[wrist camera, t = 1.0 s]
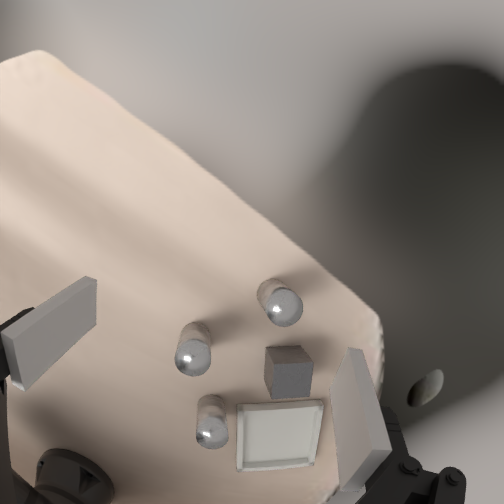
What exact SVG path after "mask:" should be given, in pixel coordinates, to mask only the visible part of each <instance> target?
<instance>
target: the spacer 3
mask: <svg viewBox="0 0 504 504" xmlns="http://www.w3.org/2000/svg"><path fill="white" fill-rule="evenodd" d="M257 299H258V301H259V303H260V304H261V306H262V308H263V309H264V311H265V312H266V314H267V315H268V317H269V319H270V320H271V321H272V322H273V323H274V324H275V325H278V326H281V327H287V326H291V325H293V324H294V323H296V322H297V321H298V320H299V319H300V317H301V315H302V312H303V303H302V300H301V299H300V297H299V296H298V295H297V294H295V293H294V292H293V291H292V290H291V289H289V288H288V287H287V286H286V285H284V284H283V283H282V282H281V281H279V280H276V279H269V280H266V281H264V282H263V283H262V284H261V285H260V286H259V288H258V290H257Z"/></svg>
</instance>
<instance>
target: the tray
mask: <svg viewBox="0 0 504 504" xmlns="http://www.w3.org/2000/svg"><path fill="white" fill-rule="evenodd" d="M323 408H324V405H323V403H322V402H321V400H320V399H316V400H306V401H294V402H279V403H260V404H237V424H236V469H237V472H250V471H266V470H278V469H288V468H297V467H305V466H312V465H314V460H315V455H316V450H317V444H318V439H319V433H320V427H321V421H322V414H323Z"/></svg>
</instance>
